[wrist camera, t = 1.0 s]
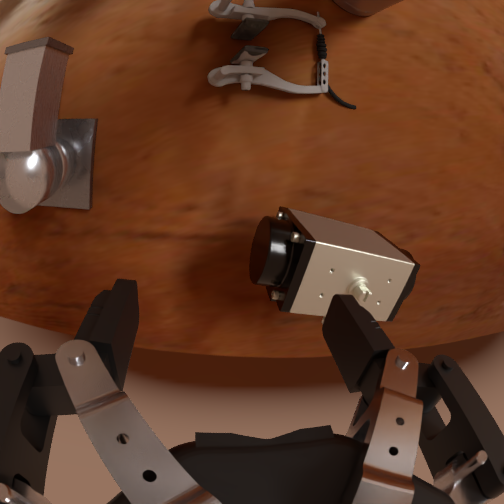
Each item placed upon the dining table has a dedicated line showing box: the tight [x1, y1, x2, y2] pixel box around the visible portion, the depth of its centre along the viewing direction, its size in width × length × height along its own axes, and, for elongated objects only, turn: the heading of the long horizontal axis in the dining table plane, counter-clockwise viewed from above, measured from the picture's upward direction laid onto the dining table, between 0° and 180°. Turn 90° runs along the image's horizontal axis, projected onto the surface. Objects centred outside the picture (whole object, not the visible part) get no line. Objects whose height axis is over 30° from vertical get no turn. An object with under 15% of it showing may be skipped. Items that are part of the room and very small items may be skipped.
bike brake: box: [207, 0, 356, 109], centre depth 27 cm, size 14×7×20 cm
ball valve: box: [249, 206, 420, 324], centre depth 32 cm, size 18×8×18 cm, turn 75°
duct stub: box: [38, 119, 98, 209], centre depth 29 cm, size 12×12×5 cm
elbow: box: [0, 37, 74, 214], centre depth 21 cm, size 19×8×6 cm, turn 169°
